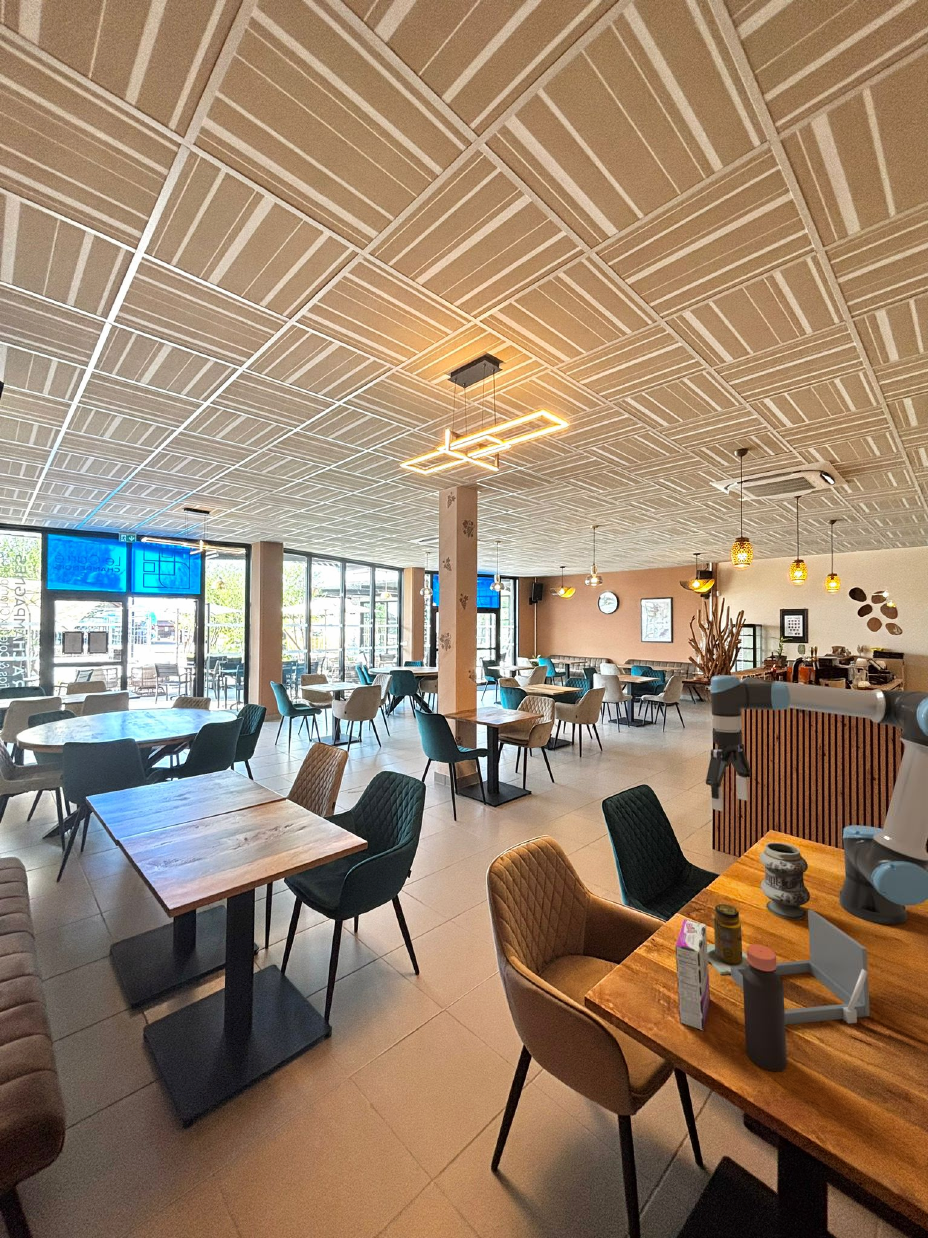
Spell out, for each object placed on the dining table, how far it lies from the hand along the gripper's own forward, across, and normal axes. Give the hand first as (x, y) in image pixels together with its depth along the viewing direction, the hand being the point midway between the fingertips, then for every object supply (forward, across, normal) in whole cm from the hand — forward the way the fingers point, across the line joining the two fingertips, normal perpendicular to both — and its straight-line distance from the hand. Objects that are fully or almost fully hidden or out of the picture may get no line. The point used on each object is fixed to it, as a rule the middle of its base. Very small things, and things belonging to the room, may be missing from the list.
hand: (730, 804), depth 144 cm
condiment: (+31, +21, +8) cm, 39 cm away
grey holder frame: (+32, +20, +23) cm, 44 cm away
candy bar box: (+32, +42, +13) cm, 54 cm away
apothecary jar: (+32, -14, +7) cm, 36 cm away
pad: (+32, +20, +8) cm, 38 cm away
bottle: (+32, +42, +28) cm, 60 cm away
